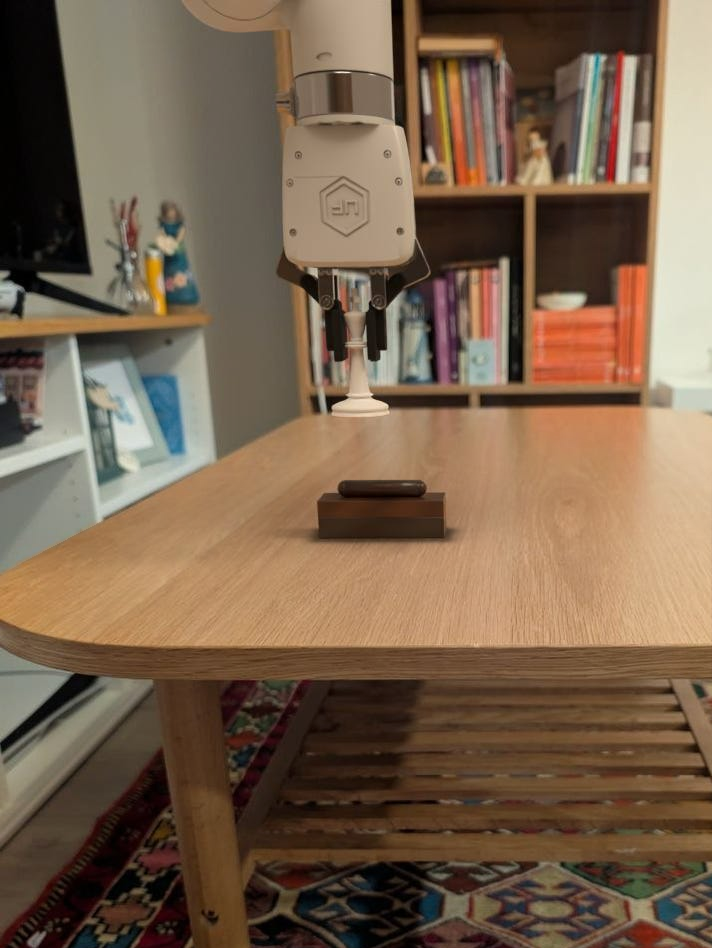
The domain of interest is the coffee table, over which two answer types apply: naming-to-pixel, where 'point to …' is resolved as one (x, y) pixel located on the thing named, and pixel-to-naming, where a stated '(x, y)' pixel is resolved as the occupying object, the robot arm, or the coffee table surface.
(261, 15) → the robot arm
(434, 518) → the brush
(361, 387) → the chess piece
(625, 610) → the coffee table surface
